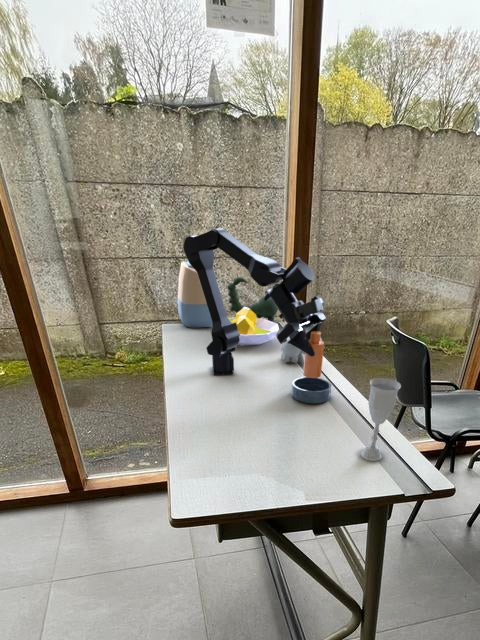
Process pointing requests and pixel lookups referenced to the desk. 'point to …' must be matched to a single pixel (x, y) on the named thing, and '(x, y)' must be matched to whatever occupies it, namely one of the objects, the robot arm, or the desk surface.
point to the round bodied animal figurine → (290, 352)
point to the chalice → (380, 410)
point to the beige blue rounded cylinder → (192, 299)
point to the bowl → (311, 390)
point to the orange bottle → (314, 357)
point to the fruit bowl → (253, 328)
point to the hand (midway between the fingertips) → (318, 353)
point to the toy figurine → (260, 308)
